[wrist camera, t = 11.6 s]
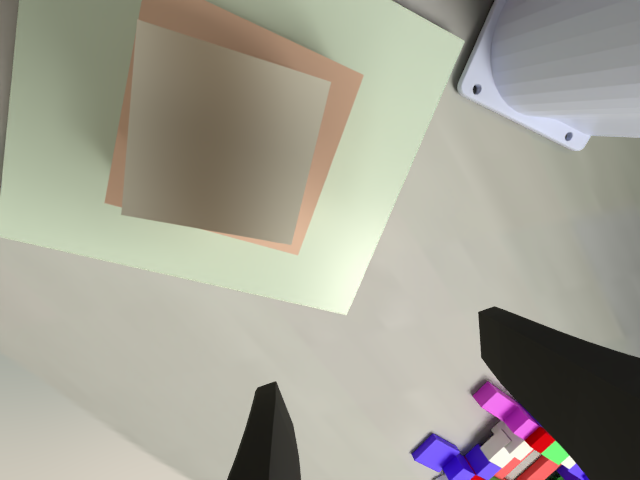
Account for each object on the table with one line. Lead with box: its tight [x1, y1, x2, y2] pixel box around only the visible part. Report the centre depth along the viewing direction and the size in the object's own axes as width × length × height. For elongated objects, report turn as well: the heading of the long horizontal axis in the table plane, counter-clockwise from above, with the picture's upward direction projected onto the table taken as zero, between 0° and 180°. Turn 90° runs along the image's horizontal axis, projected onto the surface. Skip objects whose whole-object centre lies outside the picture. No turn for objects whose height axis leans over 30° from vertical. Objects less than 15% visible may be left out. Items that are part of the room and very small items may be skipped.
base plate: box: [0, 0, 465, 315], centre depth 16 cm, size 18×16×1 cm
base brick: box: [104, 0, 364, 255], centre depth 14 cm, size 8×8×3 cm
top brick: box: [121, 19, 331, 245], centre depth 10 cm, size 4×4×5 cm
